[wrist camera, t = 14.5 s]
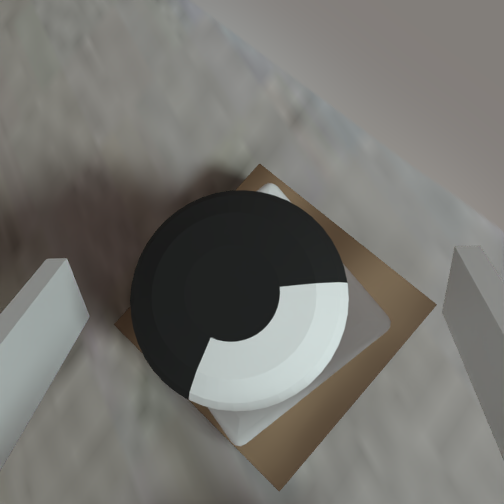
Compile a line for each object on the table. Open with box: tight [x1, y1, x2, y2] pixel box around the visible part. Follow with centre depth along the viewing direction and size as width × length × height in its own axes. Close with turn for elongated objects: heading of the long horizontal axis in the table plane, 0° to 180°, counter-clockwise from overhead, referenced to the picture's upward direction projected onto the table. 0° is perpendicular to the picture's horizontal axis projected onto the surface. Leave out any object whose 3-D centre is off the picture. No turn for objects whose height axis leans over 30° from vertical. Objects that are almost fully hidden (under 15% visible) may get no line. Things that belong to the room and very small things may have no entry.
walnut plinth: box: [114, 164, 437, 491], centre depth 25 cm, size 12×12×4 cm
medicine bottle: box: [130, 183, 391, 446], centre depth 17 cm, size 7×7×12 cm
